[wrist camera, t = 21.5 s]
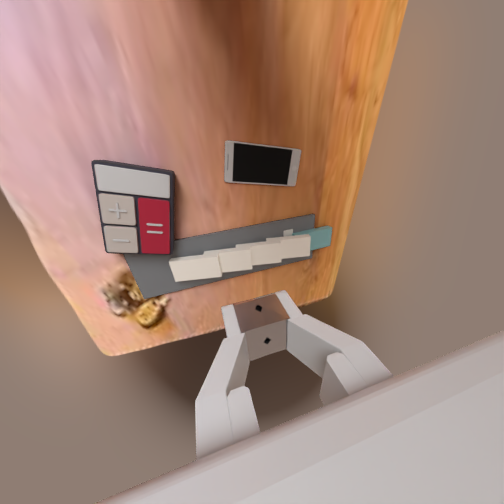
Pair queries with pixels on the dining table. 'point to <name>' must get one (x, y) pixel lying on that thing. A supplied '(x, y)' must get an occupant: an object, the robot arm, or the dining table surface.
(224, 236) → the domino mat
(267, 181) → the smartphone
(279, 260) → the domino
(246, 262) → the domino
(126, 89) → the dining table surface
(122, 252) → the calculator
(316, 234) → the domino
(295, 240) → the domino
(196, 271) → the domino
